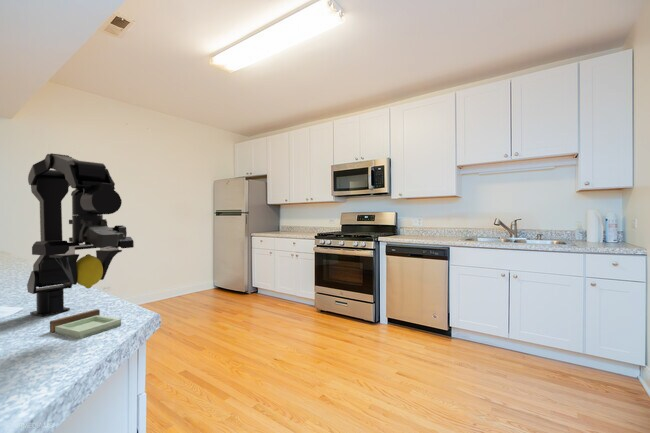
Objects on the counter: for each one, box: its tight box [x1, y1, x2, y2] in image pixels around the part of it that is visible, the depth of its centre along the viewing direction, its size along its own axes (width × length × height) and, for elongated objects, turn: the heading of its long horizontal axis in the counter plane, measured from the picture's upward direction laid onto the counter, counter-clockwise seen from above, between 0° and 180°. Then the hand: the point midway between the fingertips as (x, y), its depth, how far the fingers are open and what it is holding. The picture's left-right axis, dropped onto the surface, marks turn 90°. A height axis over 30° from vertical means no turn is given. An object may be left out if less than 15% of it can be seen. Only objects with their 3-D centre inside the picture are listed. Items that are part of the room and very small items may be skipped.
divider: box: [49, 309, 101, 333], centre depth 76 cm, size 1×10×2 cm, turn 156°
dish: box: [54, 315, 122, 340], centre depth 73 cm, size 9×9×2 cm
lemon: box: [77, 253, 103, 289], centre depth 73 cm, size 6×6×8 cm
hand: (88, 281), depth 73 cm, fingers closed on lemon, 5 cm apart
